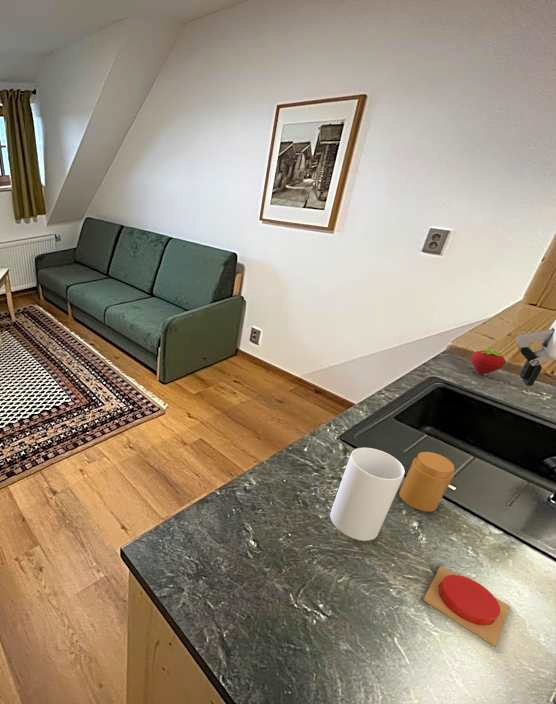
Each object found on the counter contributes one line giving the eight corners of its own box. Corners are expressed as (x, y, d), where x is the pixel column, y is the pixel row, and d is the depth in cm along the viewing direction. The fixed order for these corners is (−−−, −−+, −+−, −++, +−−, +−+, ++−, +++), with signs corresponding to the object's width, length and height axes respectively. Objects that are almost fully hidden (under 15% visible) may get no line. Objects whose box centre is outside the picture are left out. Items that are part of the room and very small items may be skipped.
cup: (331, 500, 85) (350, 442, 77) (377, 515, 81) (403, 456, 73) (328, 529, 79) (350, 469, 71) (379, 547, 75) (407, 486, 67)
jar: (441, 500, 83) (461, 462, 78) (431, 517, 80) (451, 478, 75) (405, 482, 88) (421, 445, 83) (394, 497, 84) (410, 460, 79)
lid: (441, 610, 64) (445, 603, 63) (435, 574, 69) (439, 567, 69) (500, 634, 61) (505, 628, 60) (490, 594, 66) (495, 587, 65)
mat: (509, 607, 65) (510, 606, 64) (495, 647, 60) (496, 645, 60) (439, 567, 71) (440, 565, 71) (422, 600, 66) (423, 598, 66)
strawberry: (495, 383, 119) (510, 353, 114) (462, 373, 124) (475, 345, 119) (498, 375, 122) (513, 346, 117) (466, 366, 127) (479, 338, 122)
